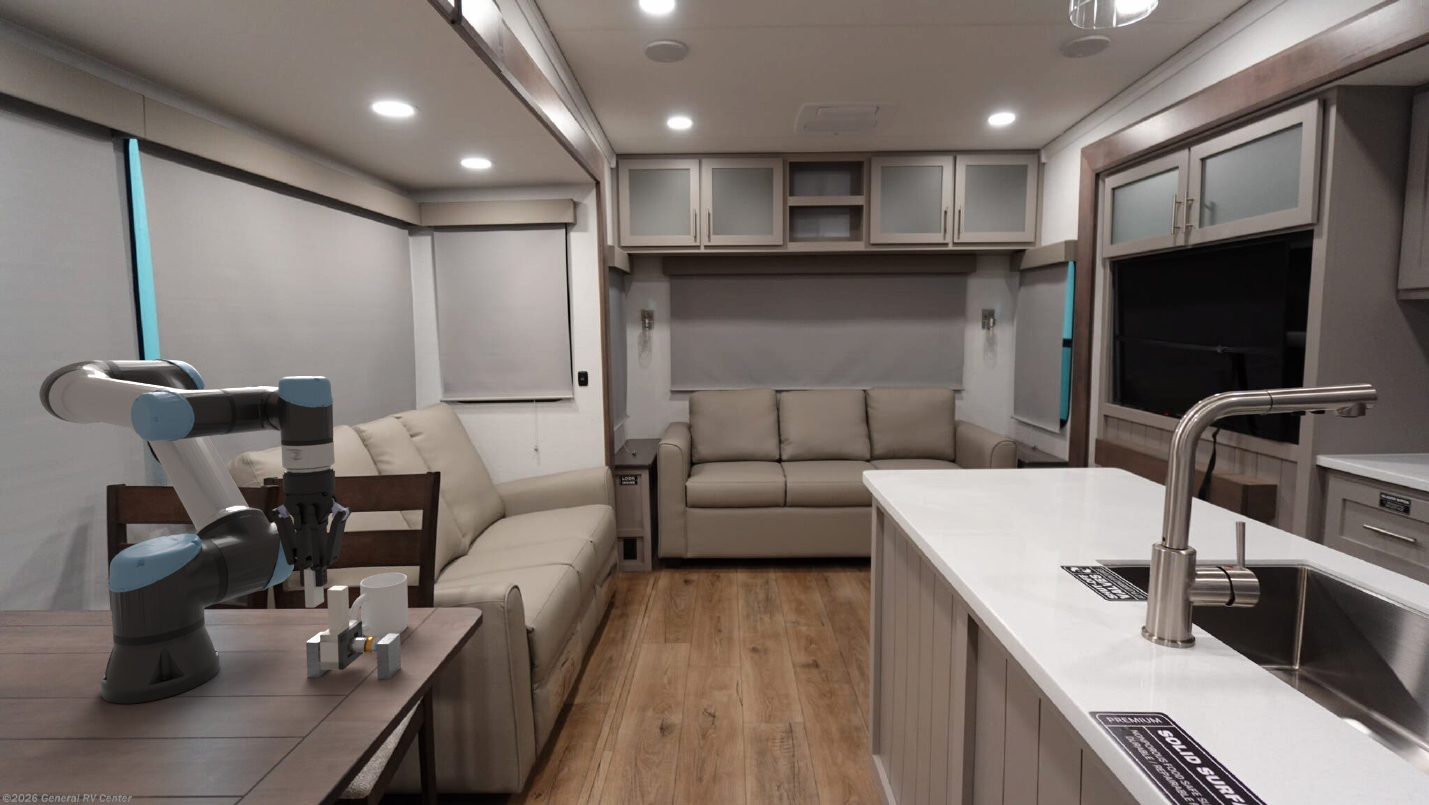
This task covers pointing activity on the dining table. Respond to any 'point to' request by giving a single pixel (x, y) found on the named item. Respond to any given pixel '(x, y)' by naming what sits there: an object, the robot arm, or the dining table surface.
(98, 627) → the dining table surface
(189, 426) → the robot arm
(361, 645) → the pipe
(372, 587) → the mug
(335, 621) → the sleeve
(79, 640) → the dining table surface
